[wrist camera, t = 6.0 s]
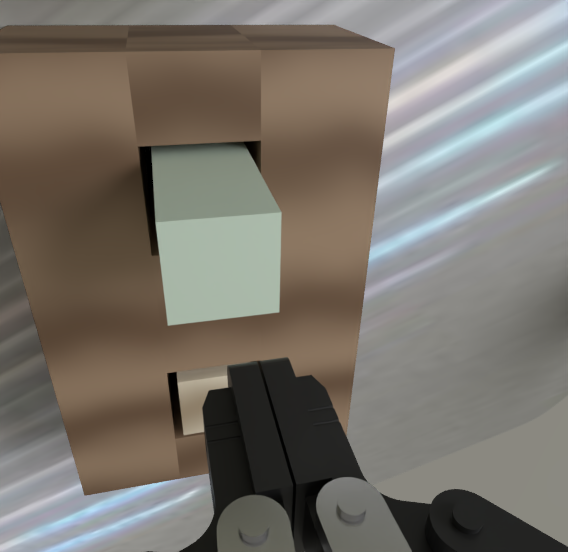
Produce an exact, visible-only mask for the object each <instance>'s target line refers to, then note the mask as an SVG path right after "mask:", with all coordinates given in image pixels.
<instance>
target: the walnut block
mask: <svg viewBox="0 0 568 552" xmlns="http://www.w3.org/2000/svg"><path fill="white" fill-rule="evenodd" d="M394 51H395V48H392V47H390V46H387V45H385V44H382V43H379V42H377V41H374V40H372V39H369V38H367V37H364V36H361V35H359V34H356V33H354V32H351V31H348V30H346V29H343V28H341V27H338V26H335V25H51V26H6V27H4V28H2V29H0V203H1V206H2V210H3V213H4V217H5V220H6V224H7V227H8V231H9V234H10V237H11V241H12V244H13V248H14V251H15V255H16V258H17V262H18V265H19V269H20V272H21V276H22V279H23V283H24V286H25V290H26V293H27V297H28V300H29V304H30V307H31V311H32V314H33V318H34V321H35V324H36V328H37V331H38V335H39V338H40V342H41V345H42V349H43V352H44V356H45V359H46V363H47V366H48V370H49V373H50V377H51V380H52V384H53V387H54V391H55V394H56V398H57V401H58V405H59V408H60V411H61V415H62V418H63V422H64V425H65V429H66V432H67V436H68V439H69V443H70V446H71V450H72V453H73V457H74V460H75V464H76V467H77V471H78V474H79V478H80V481H81V485H82V488H83V492H84V495H91V494H97V493H102V492H108V491H113V490H119V489H124V488H130V487H136V486H141V485H147V484H152V483H158V482H163V481H169V480H174V479H180V478H186V477H191V476H197V475H202V474H208V473H209V470H208V463H207V455H206V446H205V435H204V432H200V433H194V434H188V435H184V434H183V425H182V417H181V408H180V399H179V391H178V382H177V372H179V371H186V370H193V369H201V368H208V367H215V366H222V365H230V364H237V363H244V362H257V363H258V361H263V360H270V359H277V358H284V357H288V358H289V360H290V362H291V365H292V368H293V371H294V373H295V376H296V377H301V376H307V375H312V376H313V377H314V378H315V379H316V380H317V381H318V382H320V383H321V384H322V385H323V386H324V387H325V388H326V390H327V392H328V395H329V397H330V399H331V402H332V404H333V408H334V409H335V411H336V413H337V416H338V418H339V422H340V423H341V425H342V428H343V430H344V432H345V435H346V434H347V426H348V418H349V410H350V402H351V394H352V386H353V378H354V370H355V362H356V354H357V346H358V338H359V330H360V323H361V315H362V307H363V299H364V291H365V283H366V275H367V267H368V259H369V251H370V243H371V235H372V227H373V219H374V211H375V203H376V195H377V187H378V179H379V171H380V163H381V155H382V147H383V139H384V131H385V123H386V115H387V107H388V99H389V91H390V83H391V75H392V67H393V59H394ZM242 141H243V142H244V144H245V146H246V147H247V149H248V151H249V153H250V155H251V157H252V159H253V160H254V162H255V164H256V166H257V168H258V170H259V172H260V173H261V175H262V177H263V179H264V181H265V183H266V185H267V186H268V188H269V190H270V192H271V194H272V196H273V197H274V199H275V201H276V203H277V205H278V207H279V209H280V210H281V212H282V214H281V259H280V304H279V312H278V313H269V314H261V315H253V316H244V317H236V318H227V319H219V320H211V321H202V322H194V323H186V324H177V325H169V326H168V323H167V314H166V306H165V297H164V289H163V281H162V272H161V264H160V255H159V247H158V239H157V230H156V222H155V204H154V188H149V184H148V176H147V168H146V160H145V152H144V146H161V145H181V144H202V143H222V142H242Z"/></svg>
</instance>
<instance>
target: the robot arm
mask: <svg viewBox="0 0 568 552" xmlns="http://www.w3.org/2000/svg"><path fill="white" fill-rule="evenodd" d="M227 379H228V388H221V389H214V390H209V391H208V394H207V396H206V399H205V402H204V404H203V407H202V412H203V423H204V435H205V446H206V455H207V463H208V470H209V478H210V485H211V493H212V500H213V508H214V516H213V520H212V522H211V524H210V526H209V527H208V529H207V530H206V532H205V533H204V534H203V535H202V536H201V537H200V538H199V539H198V540H197V541H196V542H194V543H193V544H191V545H190V546H188V547H186V548H185V549H183V550H181V551H179V552H568V547H567V546H565V545H564V544H562V543H560V542H558V541H557V540H555V539H553V538H552V537H550V536H548V535H546V534H544V533H543V532H541V531H539V530H538V529H536V528H534V527H533V526H531V525H529V524H527V523H526V522H524V521H522V520H520V519H519V518H517V517H515V516H513V515H512V514H510V513H508V512H506V511H505V510H503V509H501V508H500V507H498V506H496V505H494V504H493V503H491V502H489V501H487V500H486V499H484V498H482V497H481V496H479V495H477V494H475V493H472V492H469V491H465V490H460V489H452V490H447V491H444V492H442V493H440V494H439V495H437V496H436V497H435V498H434V500H433V501H432V504H425V503H417V502H407V501H400V500H396V499H392V498H389V497H387V496H385V495H383V494H381V493H380V492H379V491H378V490H377V489H376V488H375V487H374V486H372V485H371V484H369V483H368V482H367V480H366V479H365V478H364V476H363V474H362V472H361V470H360V467H359V465H358V463H357V460H356V458H355V456H354V453H353V451H352V449H351V446H350V444H349V442H348V439H347V437H346V435H345V432H344V430H343V428H342V425H341V423H340V422H339V418H338V416H337V413H336V411H335V409H334V408H333V404H332V402H331V399H330V397H329V395H328V392H327V390H326V388H325V387H324V386H323V385H322V384H321V383H320V382H318V381H317V380H316V379H315V378H314V377H313V376H312V375H307V376H301V377H296V376H295V373H294V371H293V368H292V365H291V362H290V360H289V358H288V357H284V358H277V359H270V360H263V361H258V363H257V362H249V363H242V364H235V365H228V366H227ZM147 552H151V551H147Z"/></svg>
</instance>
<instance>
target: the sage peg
mask: <svg viewBox="0 0 568 552" xmlns="http://www.w3.org/2000/svg"><path fill="white" fill-rule="evenodd" d="M151 152H152V170H153V187H154V204H155V222H156V230H157V239H158V247H159V255H160V264H161V272H162V281H163V289H164V297H165V306H166V314H167V323H168V326H169V325H177V324H186V323H194V322H202V321H211V320H219V319H227V318H236V317H244V316H253V315H261V314H269V313H278V312H279V304H280V259H281V214H282V212H281V210H280V209H279V207H278V205H277V203H276V201H275V199H274V197H273V196H272V194H271V192H270V190H269V188H268V186H267V185H266V183H265V181H264V179H263V177H262V175H261V173H260V172H259V170H258V168H257V166H256V164H255V162H254V160H253V159H252V157H251V155H250V153H249V151H248V149H247V147H246V146H245V144H244V142H243V141H242V142H222V143H202V144H181V145H161V146H151Z"/></svg>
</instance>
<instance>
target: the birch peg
mask: <svg viewBox="0 0 568 552" xmlns="http://www.w3.org/2000/svg"><path fill="white" fill-rule="evenodd" d="M244 363H249V362H244ZM237 364H242V363H237ZM230 365H235V364H230ZM227 366H228V365H222V366H215V367H208V368H201V369H193V370H186V371H179V372H177V382H178V391H179V399H180V408H181V417H182V425H183V434H184V435H188V434H194V433H200V432H204V423H203V412H202V407H203V404H204V402H205V399H206V396H207V394H208V391H209V390H214V389H221V388H228V379H227Z"/></svg>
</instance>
